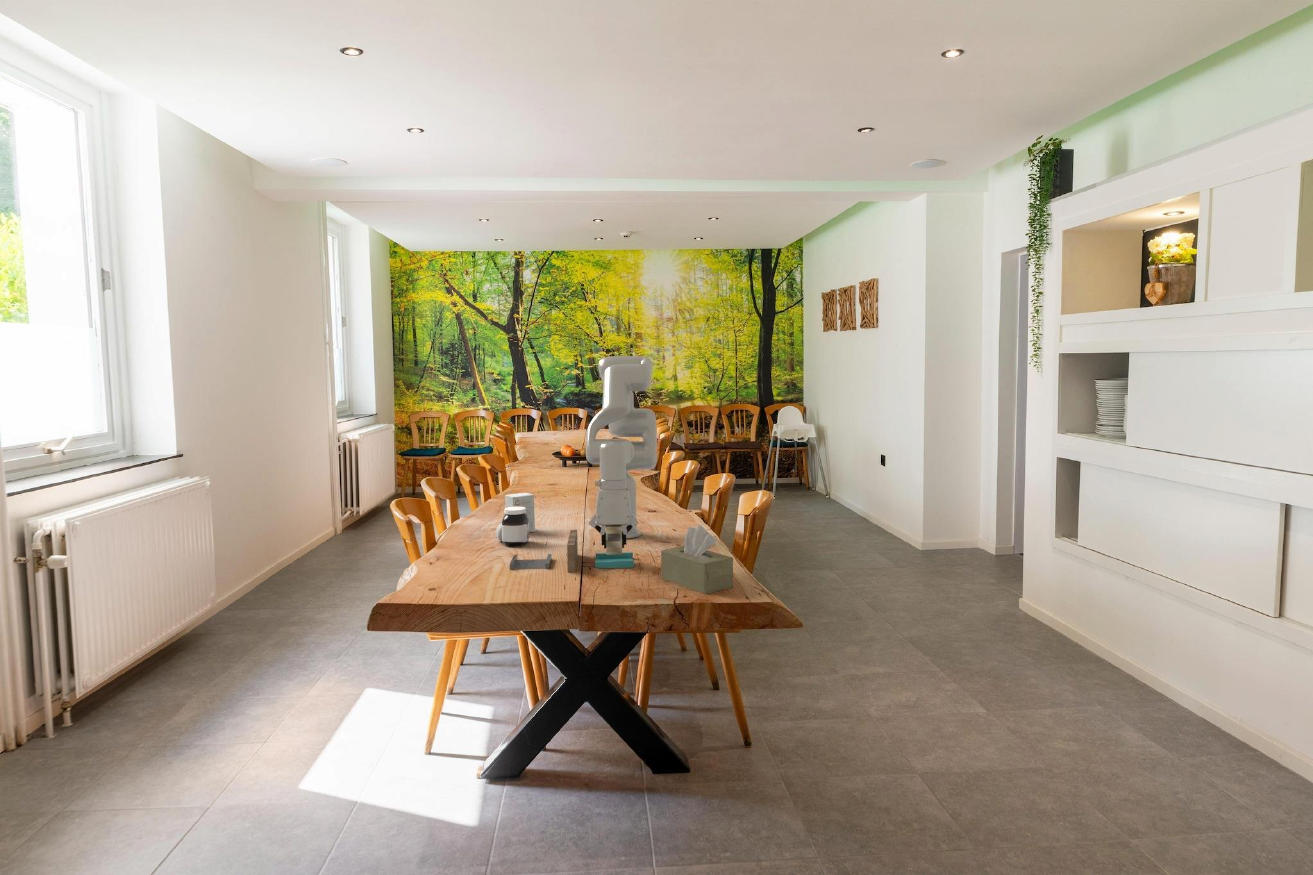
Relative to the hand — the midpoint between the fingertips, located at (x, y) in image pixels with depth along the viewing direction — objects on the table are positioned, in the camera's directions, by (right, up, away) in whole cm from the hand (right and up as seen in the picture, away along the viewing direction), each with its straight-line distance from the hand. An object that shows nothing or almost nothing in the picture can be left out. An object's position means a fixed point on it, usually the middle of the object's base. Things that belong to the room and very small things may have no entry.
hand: (614, 546), depth 236 cm
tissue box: (+23, -7, -21) cm, 32 cm away
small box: (-35, -1, +45) cm, 56 cm away
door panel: (-12, -5, 0) cm, 13 cm away
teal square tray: (0, -5, +1) cm, 5 cm away
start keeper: (-24, -5, -1) cm, 25 cm away
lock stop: (0, -2, 0) cm, 2 cm away
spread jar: (-35, -3, +28) cm, 44 cm away
